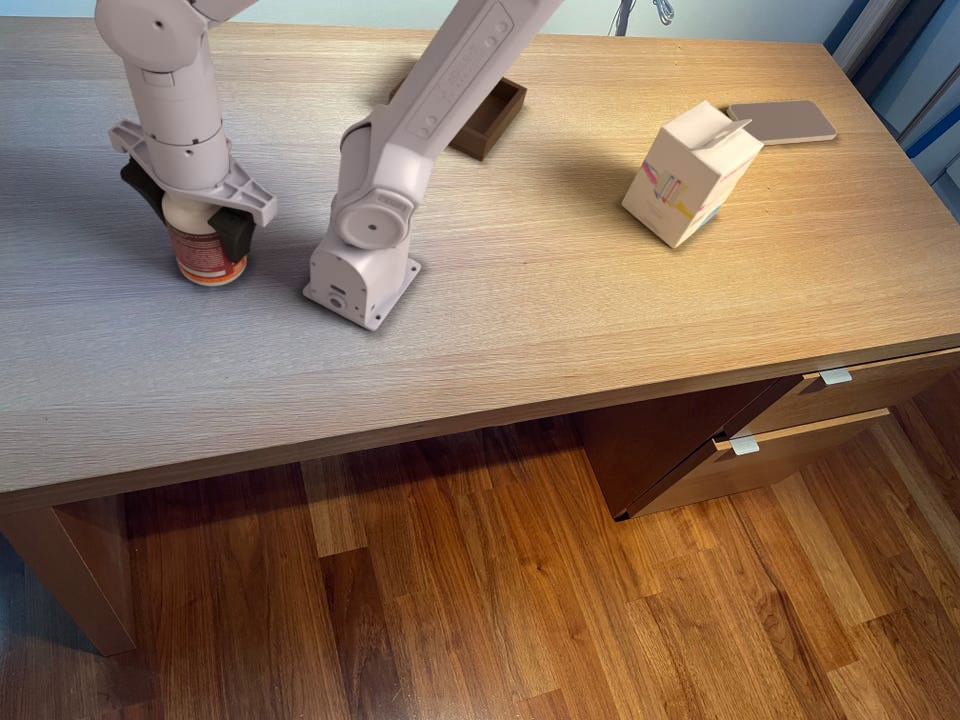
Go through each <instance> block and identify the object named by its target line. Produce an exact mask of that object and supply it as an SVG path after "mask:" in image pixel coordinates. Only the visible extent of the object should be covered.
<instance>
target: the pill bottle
mask: <svg viewBox="0 0 960 720" xmlns="http://www.w3.org/2000/svg"><path fill="white" fill-rule="evenodd" d="M221 207H223V206H221V205H216V204H211V203H206V202H201V201H197V200H192V199H187V198H182V197H178V196H175V195H172V194H170V193H168V192H165V194H164V196H163V200H162V209H163V213H164V217H165V221H166V224H167V227H166V228H167V231H168V234H169V238H170V241H171V244H172V248H173V252H174V255H175V259H176V263H177V264H178V268H179V269H180V272H181V273H182V274H183V276H184V277H186V279H188V280H189V281H191V282H192V283H195V284H197V285H200V286H204V287H218V286H219V287H220V286H223V285H226V284H230V283H231V282H233V281H234V280H236V279H238V278H239V277H240V276H241V275H242V274H243V272H244V271H245V269H246V266H247V261H248V259H247V258H248V256H247V255H248V253H247V254H246V255H245V256H244V257H243V259H242V260H241V261H240V262H239V263H238V264H234V263H233V262H231V261H230V260H229V259H228V257H227V255H226V252H225V249H224V245H223V242H222V240H221V238H220V236H219V235H218V233H217V232H216V231H215V230H214V229H213V228H212V227H211V226H210V225H208V222H207V221H208V220H209V219H210V218H211V217H212V216H213V215H214V214H215V213H216V212H217V211H218V210H219V209H220V208H221Z"/></svg>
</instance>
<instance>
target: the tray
mask: <svg viewBox="0 0 960 720" xmlns="http://www.w3.org/2000/svg"><path fill="white" fill-rule="evenodd" d="M408 75H409V73H407V75H406V76H404V78H402V80H401V81H399V82H398V83H397V85H396V86H395V87H394V88H393V89H392V90H391V91H390V92H389V94H388V95H389V96H388V104H389V103H390V102H391V100H392V99H393V97H394V96H395V94H396V93H397V91H398V90H399V88H400V87H401V85H402V84H403V82H404V81H405V79H406V78H407V76H408ZM527 92H528V88H527V87H525V86H523V85H521V84H519V83H517V82H514V81H512V80H510V79H509V78H506V77H504V76H503V77H502V78H501V79H500V81H499V82H498V83H497V84H496V86H495V87H494V88H493V89H492V91H491V92H490V93H489V94H488V96H487V97H486V98H485V99H484V101H483V102H482V103H481V104H480V105H479V107H478V108H477V109H476V110H475V112H474V113H473V114H472V115H471V117H470V118H469V119H468V120H467V122H466V123H465V124H464V125H463V127H462V128H461V129H460V130H459V131H458V133H457V134H456V135H455V136H454V138H453V139H452V140H451V141H450V143H449V144H448V145H447V146H450V147H452V148H454V149H456V150H458V151H460V152H462V153H464V154H466V155H468V156H470V157H471V158H474V159H476V160H478V161H480V162H483V161H484V160H485V158H486V157H487V156H488V154H489V153H490V152H491V151H492V149H493V148H494V146H495V145H496V143H497V142H498V141H499V140H500V138H501V137H502V136H503V135H504V133H505V131H506V130H507V129H508V128H509V126H510V125H511V124H512V123H513V121H514V120H515V118H516V117H517V116H518V115H519V113H520V112H521V110H522V109H523V105H524V103H525V99H526V95H527Z"/></svg>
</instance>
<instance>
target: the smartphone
mask: <svg viewBox="0 0 960 720" xmlns="http://www.w3.org/2000/svg"><path fill="white" fill-rule="evenodd" d="M726 113H727V115H728V118H729V119H731V120H732V121H733V122H735V121H741V120H746V119H752V121H751V122H749V123H748V124H747V125H745V126H744V127H742V129H744V130H745V131H746V132H748V133H749V134H750V135H752V136H753V137H755V138H756V139H757V140H759V141H760V142H761V143H763V144H764V145H763V146H772V145H773V146H774V145H785V144H797V143H798V144H799V143H809V142H820V141H832V140H834V138H835V137H836V136H837V134H838V131H837V129H836V127H835V126H834V125H833V124H832V122H831V121H830V120H829V118H827V116H826V114H824V112H823V111H822V110H821V108H820V107H819V106H818V105H817V104H816V102H815V101H813V100H811V99H793V100H791V99H790V100H775V101H773V100H772V101H761V102H760V101H759V102H758V101H757V102H741V103H740V102H739V103H731V104H730V105H729V107H728V108H727V109H726Z"/></svg>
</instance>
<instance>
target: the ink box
mask: <svg viewBox="0 0 960 720" xmlns="http://www.w3.org/2000/svg"><path fill="white" fill-rule="evenodd" d="M751 121H752V119H746V120H741V121H735V122H733V121H732V120H731V118H730V117H729V116H727V115H726V114H725V113H723V112H722V111H721V110H719V109H718V108H717V107H715V105H713V104H711V102H709V101H708V100H707V99H704V100H702V101H700V102H699V103H697V104H695V105H693V106H692V107H690V108H689V109H687V110H686V111H684V112H682V113H681V114H679V115H678V116H676V117H675V118H673V119H671V120H669V121H668V122H666V123H665V124H663V125H661V126H660V128H659V130H658V133H657V134H656V136H655V138H654V140H653V142H652V144H651V146H650V148H649V150H648V152H647V154H646V156H645V158H644V159H643V161H642V163H641V165H640V167H639V169H638V171H637V173H636V175H635V176H634V178H633V180H632V183H631V184H630V186H629V187H628V189H627V191H626V194H625V195H624V198H623V199H622V201H621V202H620V203H621V206H622V207H623V208H624V209H625V210H626V211H628V213H630V215H632V216H633V217H635V218H636V219H637V220H638V221H639V222H641V224H643V225H644V226H645V227H646V228H648V229H649V230H650V231H651V232H652V233H654V234H655V235H656V236H657V237H658V238H660V239H661V240H662V241H663V242H664V243H666V244H667V245H668V246H669V247H670V248H671V249H676V248H677V247H679V246H680V245H681V244H682V243H684V241H686V240H687V239H688V238H690V237H691V236H692V235H693V234H694V233H696V232H697V231H698V230H699V229H700V228H702V226H703V225H705V224H706V223H707V222H709V220H711V219H712V218H713V217H714V216H715V215H717V212H719V210H720V209H721V207H722V206H723V203H725V201H726V200H727V199H728V197H729V196H730V194H731V192H732V191H733V190H734V188H735V187H736V185H737V184H738V183H739V181H740V179H742V177H743V175H744V174H745V172H746V171H747V169H748V168H749V167H750V165H751V164H752V163H753V161H754V159H756V157H757V155H758V153H760V151H761V150H762V148H763V147H764V146H765V145H764V144H763V143H761V142H760V141H759V140H757V139H756V138H755V137H753V136H752V135H750V134H749V133H748V132H746V131H745V130H744V129H742V127H744V126H745V125H747V124H748V123H749V122H751Z"/></svg>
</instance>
